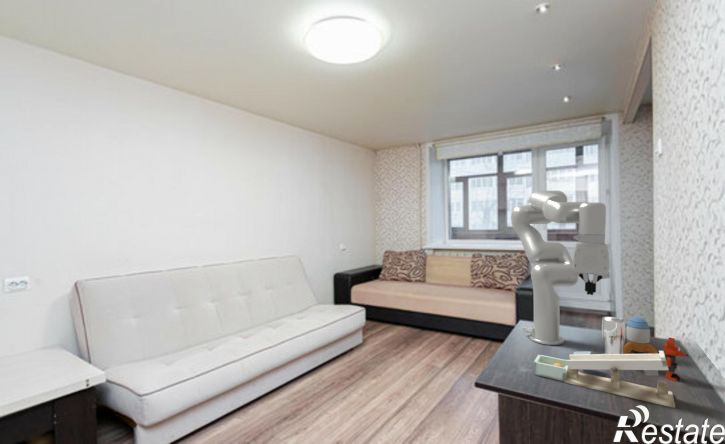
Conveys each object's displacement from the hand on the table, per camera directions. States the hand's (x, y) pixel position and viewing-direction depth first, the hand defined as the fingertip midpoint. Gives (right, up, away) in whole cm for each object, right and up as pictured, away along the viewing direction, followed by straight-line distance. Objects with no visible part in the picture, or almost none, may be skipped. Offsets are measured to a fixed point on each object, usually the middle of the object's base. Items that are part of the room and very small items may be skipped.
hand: (590, 293), depth 120 cm
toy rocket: (+24, -25, +9) cm, 36 cm away
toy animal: (+21, -25, -9) cm, 34 cm away
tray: (-15, -25, -4) cm, 30 cm away
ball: (-14, -23, -5) cm, 27 cm away
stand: (-2, -25, -14) cm, 29 cm away
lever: (+1, -20, -11) cm, 23 cm away
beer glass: (+11, -25, +5) cm, 28 cm away
